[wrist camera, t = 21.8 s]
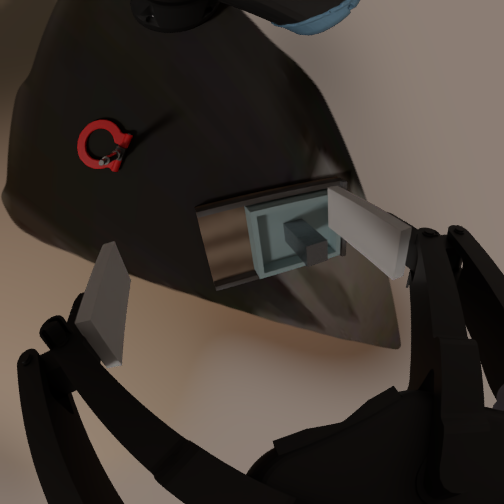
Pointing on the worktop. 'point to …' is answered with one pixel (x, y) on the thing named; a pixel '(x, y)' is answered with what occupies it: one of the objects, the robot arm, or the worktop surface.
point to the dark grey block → (306, 242)
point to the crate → (272, 231)
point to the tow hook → (109, 160)
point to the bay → (243, 231)
